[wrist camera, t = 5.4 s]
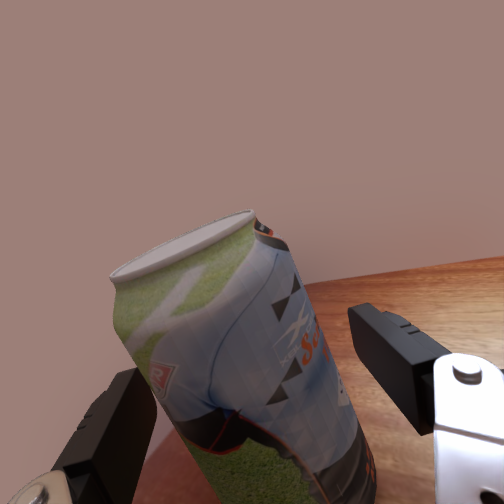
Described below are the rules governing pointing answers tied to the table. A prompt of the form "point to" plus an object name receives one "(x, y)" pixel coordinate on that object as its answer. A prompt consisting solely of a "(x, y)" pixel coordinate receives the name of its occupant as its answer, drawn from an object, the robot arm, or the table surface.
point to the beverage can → (243, 366)
